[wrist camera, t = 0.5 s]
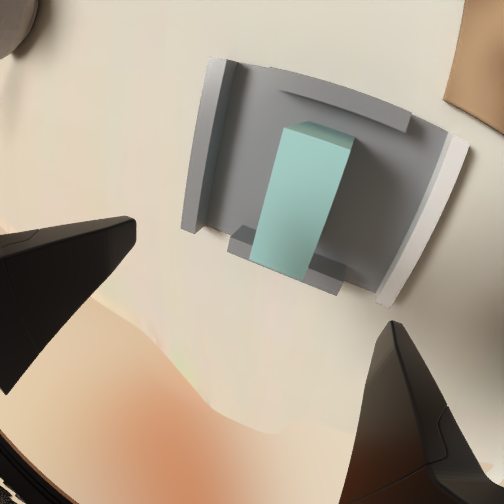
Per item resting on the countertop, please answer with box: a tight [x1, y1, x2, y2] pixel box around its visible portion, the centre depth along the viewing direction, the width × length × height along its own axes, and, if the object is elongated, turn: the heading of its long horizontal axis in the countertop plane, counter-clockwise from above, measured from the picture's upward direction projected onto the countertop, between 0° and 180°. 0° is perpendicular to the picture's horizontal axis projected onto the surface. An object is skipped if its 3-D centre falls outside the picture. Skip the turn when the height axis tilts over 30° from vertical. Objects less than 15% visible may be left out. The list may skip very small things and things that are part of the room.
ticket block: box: [249, 121, 355, 281], centre depth 16 cm, size 3×7×6 cm, turn 166°
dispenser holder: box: [181, 57, 470, 308], centre depth 18 cm, size 16×12×2 cm
